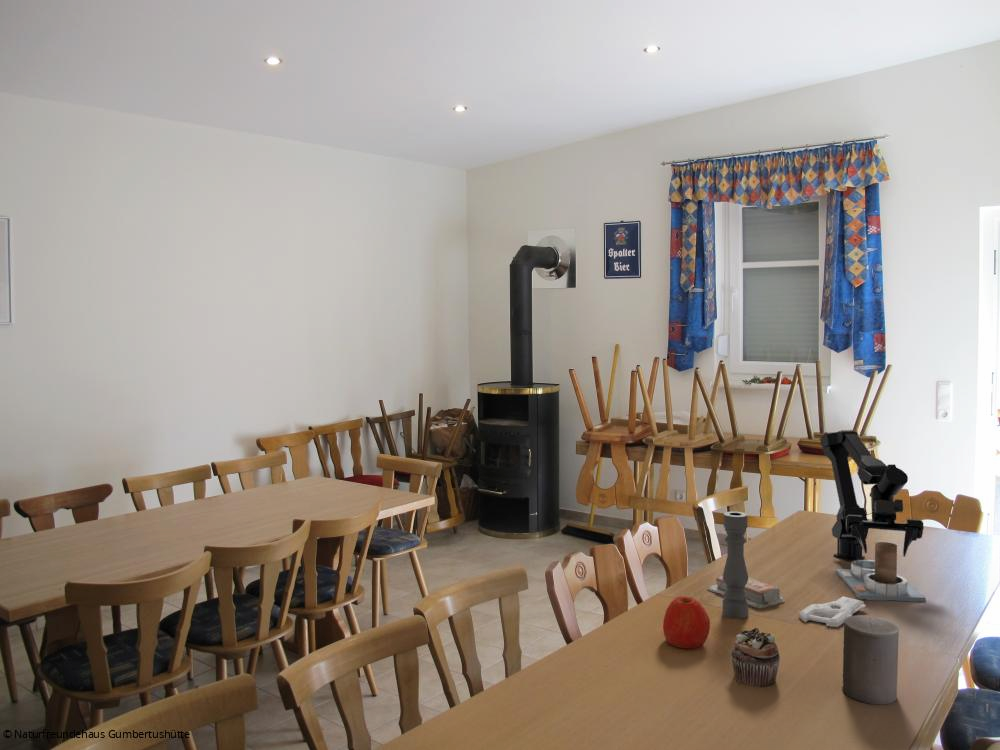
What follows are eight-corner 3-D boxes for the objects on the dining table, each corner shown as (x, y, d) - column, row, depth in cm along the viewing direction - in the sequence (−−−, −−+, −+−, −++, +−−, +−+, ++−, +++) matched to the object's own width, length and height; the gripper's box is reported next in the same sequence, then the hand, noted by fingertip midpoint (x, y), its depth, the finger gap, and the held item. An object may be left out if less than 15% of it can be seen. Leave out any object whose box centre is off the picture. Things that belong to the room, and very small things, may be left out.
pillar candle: (833, 693, 156) (835, 617, 155) (854, 677, 163) (856, 604, 162) (886, 710, 149) (888, 631, 148) (905, 693, 156) (907, 617, 155)
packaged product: (786, 585, 207) (759, 592, 202) (786, 603, 207) (759, 611, 202) (733, 567, 223) (706, 573, 218) (733, 584, 223) (706, 591, 218)
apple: (714, 639, 184) (714, 594, 183) (701, 655, 175) (701, 608, 174) (671, 631, 189) (671, 587, 188) (656, 646, 180) (656, 600, 179)
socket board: (835, 572, 231) (835, 558, 231) (895, 574, 228) (895, 560, 228) (859, 599, 208) (859, 584, 208) (925, 601, 206) (925, 586, 206)
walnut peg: (870, 588, 214) (870, 543, 213) (884, 585, 216) (884, 541, 215) (886, 594, 209) (887, 548, 208) (901, 591, 211) (901, 545, 210)
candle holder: (726, 608, 203) (726, 510, 202) (751, 612, 200) (751, 512, 199) (719, 616, 198) (719, 515, 196) (744, 620, 195) (745, 518, 193)
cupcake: (788, 678, 163) (789, 629, 162) (764, 693, 156) (765, 643, 156) (745, 664, 170) (746, 617, 169) (721, 678, 163) (721, 630, 163)
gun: (828, 588, 207) (868, 598, 200) (828, 601, 207) (868, 611, 200) (794, 610, 194) (835, 621, 187) (795, 624, 195) (836, 635, 188)
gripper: (846, 485, 221) (847, 535, 211) (923, 489, 214) (927, 541, 204) (845, 507, 228) (846, 556, 219) (919, 512, 222) (923, 563, 212)
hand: (885, 554), depth 213 cm, fingers open, 9 cm apart
